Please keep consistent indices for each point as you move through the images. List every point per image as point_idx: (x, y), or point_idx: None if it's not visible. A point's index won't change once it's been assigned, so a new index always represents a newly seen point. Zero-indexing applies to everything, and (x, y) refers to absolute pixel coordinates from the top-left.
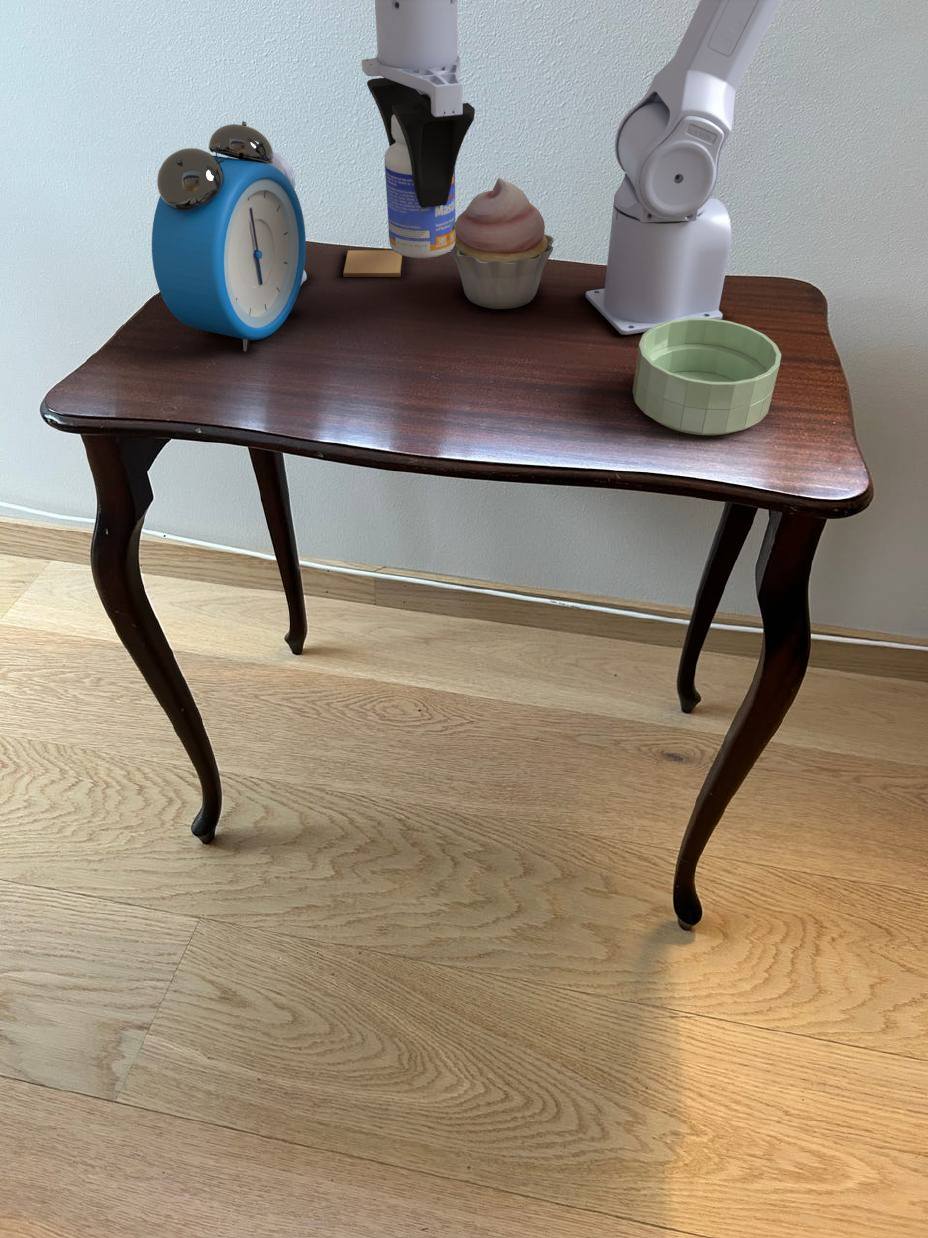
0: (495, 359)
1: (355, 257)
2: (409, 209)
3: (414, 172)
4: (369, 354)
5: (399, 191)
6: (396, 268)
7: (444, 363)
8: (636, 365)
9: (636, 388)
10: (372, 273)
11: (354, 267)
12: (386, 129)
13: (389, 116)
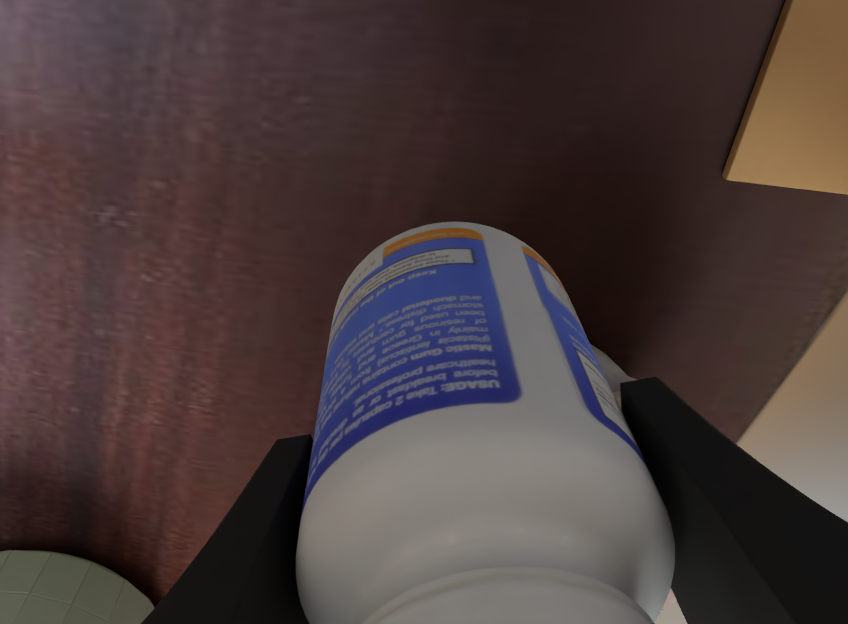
0: (208, 352)
1: None
2: (325, 384)
3: (208, 546)
4: (229, 47)
5: (341, 396)
6: (760, 172)
7: (183, 244)
8: (19, 601)
9: (4, 572)
10: (756, 93)
11: (825, 33)
12: (780, 518)
13: (771, 619)
